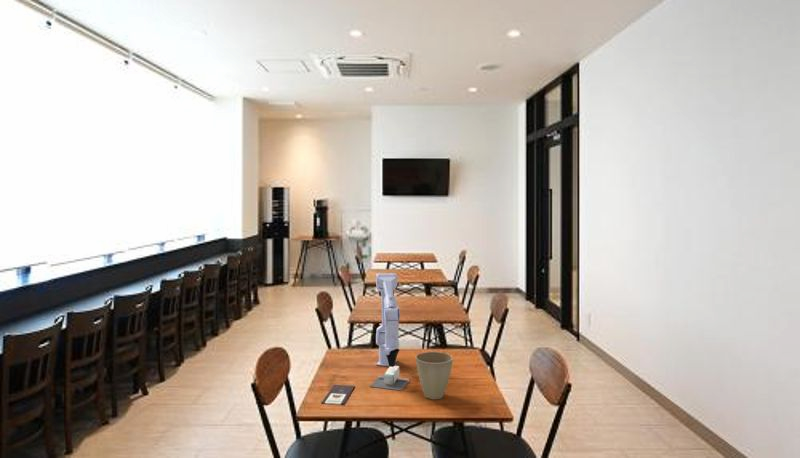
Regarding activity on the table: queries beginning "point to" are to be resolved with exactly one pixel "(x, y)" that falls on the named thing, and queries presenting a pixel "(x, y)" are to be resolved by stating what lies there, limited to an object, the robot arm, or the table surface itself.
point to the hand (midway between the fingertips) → (391, 366)
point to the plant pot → (434, 373)
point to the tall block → (391, 375)
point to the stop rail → (396, 379)
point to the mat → (397, 385)
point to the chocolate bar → (338, 395)
